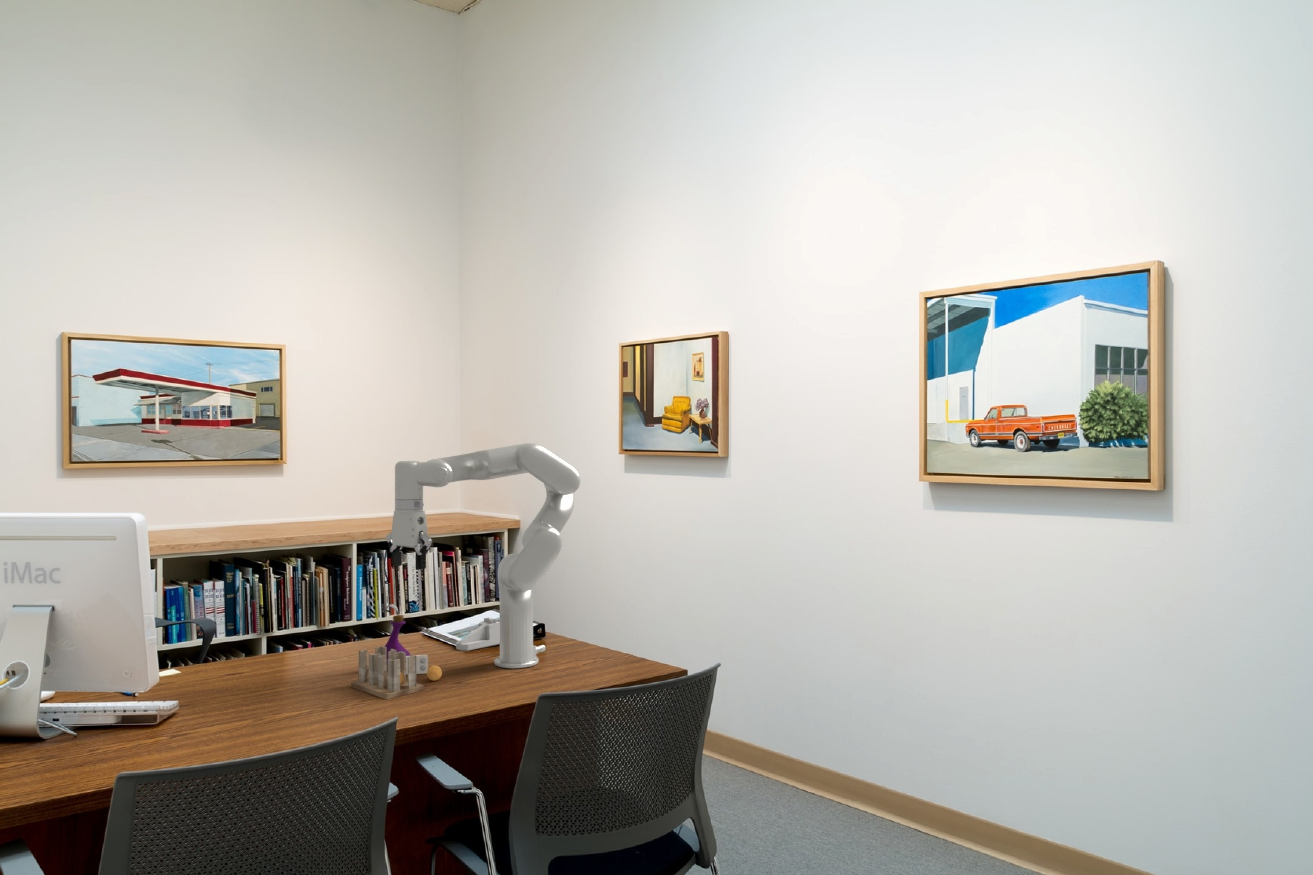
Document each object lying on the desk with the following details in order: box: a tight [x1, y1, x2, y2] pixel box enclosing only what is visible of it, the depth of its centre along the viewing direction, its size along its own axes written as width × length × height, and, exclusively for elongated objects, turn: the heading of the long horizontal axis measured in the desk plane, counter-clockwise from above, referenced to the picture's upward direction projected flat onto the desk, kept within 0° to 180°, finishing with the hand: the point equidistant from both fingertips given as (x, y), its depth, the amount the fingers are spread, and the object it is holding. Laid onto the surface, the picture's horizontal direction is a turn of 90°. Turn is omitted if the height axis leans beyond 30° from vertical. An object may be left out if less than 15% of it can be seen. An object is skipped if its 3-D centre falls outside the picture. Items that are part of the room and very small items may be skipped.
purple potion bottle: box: [384, 603, 411, 671], centre depth 257 cm, size 8×8×18 cm
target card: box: [406, 654, 429, 676], centre depth 250 cm, size 1×8×5 cm, turn 105°
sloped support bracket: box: [455, 617, 500, 652], centre depth 284 cm, size 6×18×8 cm, turn 137°
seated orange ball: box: [400, 672, 405, 686], centre depth 233 cm, size 4×4×4 cm
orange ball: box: [426, 664, 443, 682], centre depth 243 cm, size 4×4×4 cm
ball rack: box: [350, 645, 425, 700], centre depth 236 cm, size 11×17×9 cm, turn 49°
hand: (408, 567), depth 249 cm, fingers open, 9 cm apart
